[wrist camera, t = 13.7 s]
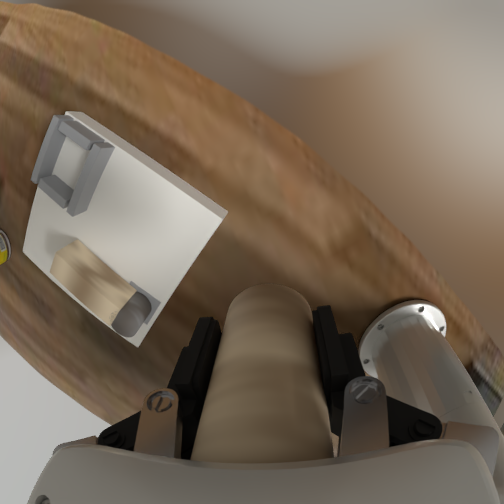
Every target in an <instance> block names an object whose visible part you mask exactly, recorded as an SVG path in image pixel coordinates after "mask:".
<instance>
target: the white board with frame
mask: <svg viewBox="0 0 504 504" xmlns="http://www.w3.org/2000/svg"><path fill="white" fill-rule="evenodd" d="M31 180H32V181H33V182H34V183H35V184H37V183H39V184H38V187H37V191H36V194H35V198H34V201H33V205H32V209H31V213H30V218H29V222H28V227H27V231H26V236H25V242H24V247H23V252H24V253H25V254H26V255H27V256H28V258H29V259H30V260H31V261H33V262H34V263H35V264H36V265H37V266H38V267H39V268H40V269H41V270H42V271H43V272H44V273H45V274H46V275H47V276H48V277H49V278H50V279H51V280H52V281H54V282H55V283H56V284H57V285H58V286H59V287H60V288H61V289H63V290H64V291H65V292H66V293H67V294H68V295H69V296H71V297H72V298H73V299H74V300H75V301H77V302H78V303H79V304H80V305H81V306H83V307H84V308H85V309H86V310H88V311H89V312H90V313H91V314H93V315H94V316H95V317H96V318H98V319H99V320H100V321H102V322H103V323H104V324H106V323H105V322H104V321H103V320H102V319H100V318H99V317H98V316H97V315H96V314H94V313H93V312H92V311H91V310H90V309H89V308H87V307H86V306H85V305H84V304H83V303H82V302H81V301H80V300H78V299H77V298H76V297H75V296H74V295H73V294H72V293H71V292H70V291H69V290H68V289H66V288H65V287H64V286H63V285H62V284H61V283H60V282H59V281H58V280H57V279H56V278H55V277H54V276H53V275H52V274H51V273H50V269H51V266H52V262H53V259H54V256H55V253H56V252H57V251H59V250H60V249H62V248H63V247H65V246H67V245H68V244H70V243H72V242H74V241H75V240H77V239H78V240H79V241H80V242H81V243H82V244H84V245H85V246H86V247H87V248H88V249H89V250H90V251H91V252H92V253H93V254H95V255H96V256H97V257H98V258H99V259H100V260H101V261H103V262H104V263H105V264H106V265H107V266H108V267H109V268H111V269H112V270H113V271H114V272H115V273H117V274H118V275H119V276H120V277H121V278H123V279H124V280H125V281H126V282H127V283H129V284H130V285H131V286H132V287H134V288H135V289H136V290H137V291H136V292H139V293H142V294H143V295H145V296H146V297H147V298H148V299H149V301H150V303H151V307H152V309H151V312H150V314H149V315H148V317H147V318H146V320H145V321H144V323H143V324H142V325H141V327H140V328H139V330H138V331H137V333H136V334H135V335H134V336H133V337H124V336H122V337H123V338H125V339H126V340H127V341H129V342H130V343H132V344H133V345H135V346H136V347H139V345H140V344H141V342H142V341H143V339H144V337H145V336H146V334H147V333H148V331H149V329H150V328H151V326H152V325H153V323H154V322H155V320H156V318H157V317H158V315H159V314H160V312H161V311H162V309H163V308H164V306H165V304H166V303H167V301H168V300H169V298H170V297H171V295H172V294H173V292H174V291H175V289H176V288H177V286H178V285H179V283H180V282H181V280H182V279H183V277H184V276H185V274H186V273H187V271H188V270H189V268H190V267H191V265H192V264H193V262H194V261H195V259H196V258H197V256H198V255H199V253H200V252H201V251H202V249H203V248H204V246H205V245H206V243H207V242H208V240H209V239H210V237H211V236H212V235H213V233H214V232H215V230H216V229H217V227H218V226H219V225H220V223H221V222H222V220H223V219H224V218H225V216H226V215H227V213H228V211H227V210H225V209H224V208H222V207H221V206H220V205H218V204H217V203H215V202H214V201H212V200H211V199H210V198H208V197H207V196H205V195H204V194H202V193H201V192H200V191H198V190H197V189H195V188H194V187H192V186H191V185H189V184H188V183H187V182H185V181H184V180H182V179H181V178H179V177H178V176H176V175H175V174H174V173H172V172H171V171H169V170H168V169H166V168H165V167H163V166H162V165H160V164H159V163H158V162H156V161H155V160H153V159H152V158H150V157H149V156H147V155H146V154H144V153H143V152H141V151H140V150H138V149H137V148H135V147H134V146H132V145H131V144H130V143H128V142H127V141H125V140H124V139H122V138H121V137H119V136H118V135H116V134H115V133H113V132H112V131H110V130H109V129H107V128H106V127H104V126H103V125H101V124H100V123H98V122H97V121H95V120H94V119H92V118H90V117H89V116H87V115H86V114H84V113H83V112H73V111H66V113H65V115H54V116H53V118H52V121H51V123H50V125H49V128H48V130H47V133H46V135H45V138H44V141H43V143H42V146H41V149H40V152H39V155H38V158H37V161H36V164H35V167H34V170H33V173H32V177H31ZM106 325H107V326H108V327H110V328H111V329H112V330H114V329H113V328H112V326H109V325H108V324H106ZM114 331H115V330H114ZM115 332H116V331H115ZM116 333H117V332H116ZM119 335H120V334H119ZM120 336H121V335H120Z"/></svg>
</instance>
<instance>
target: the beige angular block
mask: <svg viewBox="0 0 504 504" xmlns="http://www.w3.org/2000/svg"><path fill="white" fill-rule="evenodd" d="M50 273H51V274H52V275H53V276H54V277H55V278H56V279H57V280H58V281H59V282H60V283H61V284H62V285H63V286H64V287H65V288H66V289H68V290H69V291H70V292H71V293H72V294H73V295H74V296H75V297H76V298H77V299H78V300H80V301H81V302H82V303H83V304H84V305H85V306H86V307H87V308H89V309H90V310H91V311H92V312H93V313H94V314H96V315H97V316H98V317H99V318H100V319H102V320H103V321H104V322H105V323H106V324H108V325H109V326H112V328H113V329H114V330H115V331H116V332H117V333H118V334H120V335H121V336H124V337H133V336H134V335H135V334H136V333H137V331H138V330H139V328H140V327H141V325H142V324H143V323H144V321H145V320H146V318H147V317H148V315H149V314H150V312H151V309H152V307H151V303H150V301H149V299H148V298H147V297H146V296H145V295H143V294H142V293H139V292H136V291H137V290H136V289H135V288H134V287H132V286H131V285H130V284H129V283H127V282H126V281H125V280H124V279H123V278H121V277H120V276H119V275H118V274H117V273H115V272H114V271H113V270H112V269H111V268H109V267H108V266H107V265H106V264H105V263H104V262H103V261H101V260H100V259H99V258H98V257H97V256H96V255H95V254H93V253H92V252H91V251H90V250H89V249H88V248H87V247H86V246H85V245H84V244H82V243H81V242H80V241H79V240H78V239H77V240H75V241H74V242H72V243H70V244H68V245H67V246H65V247H63V248H62V249H60V250H59V251H57V252H56V253H55V256H54V259H53V262H52V266H51V269H50Z"/></svg>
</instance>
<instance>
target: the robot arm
mask: <svg viewBox="0 0 504 504" xmlns="http://www.w3.org/2000/svg"><path fill="white" fill-rule="evenodd" d="M312 315H313V328H314V333H315V339H316V345H317V351H318V357H319V363H320V369H321V376H322V382H323V389H324V394H325V397H326V400H327V407H328V414H329V422H330V429H331V432H332V433H334V434H335V435H337V436H339V440H338V450H337V457H335V458H327V459H319V460H310V461H299V462H284V463H219V462H205V461H193V460H190V459H191V454H192V450H193V446H194V442H195V438H196V434H197V430H198V426H199V422H200V418H201V414H202V410H203V406H204V402H205V398H206V394H207V390H208V386H209V383H210V379H211V375H212V371H213V367H214V363H215V359H216V355H217V351H218V347H219V343H220V340H221V336H222V333H221V330H220V326H219V322H218V320H214V318H213V317H202V318H199V320H198V323H197V325H196V328H195V330H194V333H193V336H192V338H191V341H190V343H189V346H188V347H184V348H183V349H182V352H181V354H180V357H179V359H178V362H177V364H176V367H175V369H174V372H173V374H172V377H171V379H170V382H169V384H168V387H167V388H160V389H156V390H154V391H152V392H150V393H149V394H148V395H147V396H146V397H145V399H144V401H143V405H142V410H141V411H140V412H138V413H136V414H134V415H132V416H130V417H128V418H126V419H124V420H122V421H120V422H118V423H116V424H114V425H112V426H110V427H108V428H107V429H105V430H104V431H102V432H101V434H100V435H99V437H98V438H97V437H96V436H91V437H87V438H84V439H80V440H76V441H71V442H67V443H63V444H60V445H58V446H57V447H56V448H55V449H54V451H53V456H52V457H51V459H50V460H49V461H48V463H47V465H46V466H45V468H44V470H43V471H42V473H41V475H40V477H39V479H38V481H37V483H36V485H35V487H34V489H33V491H32V493H31V496H30V498H29V500H28V503H27V504H504V436H503V434H502V433H501V431H500V429H499V427H498V425H497V424H496V422H495V420H494V418H493V416H492V414H491V412H490V411H489V409H488V407H487V405H486V404H485V402H484V400H483V398H482V397H481V395H480V393H479V391H478V390H477V388H476V386H475V384H474V383H473V381H472V379H471V378H470V376H469V374H468V373H467V371H466V370H465V368H464V366H463V365H462V363H461V362H460V360H459V358H458V357H457V355H456V354H455V352H454V351H453V349H452V348H451V346H450V345H449V343H448V342H447V340H446V339H445V334H446V320H445V317H444V315H443V314H442V312H441V311H440V309H439V308H438V307H437V306H436V305H434V304H433V303H431V302H428V301H424V300H411V301H406V302H403V303H400V304H397V305H395V306H393V307H391V308H389V309H388V310H386V311H385V312H383V313H382V314H381V315H379V316H378V317H377V318H376V319H375V320H374V321H373V322H372V323H371V324H370V326H369V327H368V328H367V329H366V331H365V333H364V334H363V336H362V339H361V341H360V344H359V350H358V351H357V348H356V345H355V342H354V339H353V336H352V334H351V333H345V334H338V331H337V328H336V324H335V321H334V317H333V314H332V310H331V307H330V305H327V306H320V307H317V310H315V311H312ZM358 353H359V354H358ZM364 371H365V372H366V373H367V374H369V375H371V376H372V377H371V376H365V372H364ZM374 377H375V378H374ZM377 378H378V379H379V380H378V379H377Z"/></svg>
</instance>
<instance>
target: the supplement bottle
mask: <svg viewBox="0 0 504 504" xmlns="http://www.w3.org/2000/svg"><path fill="white" fill-rule="evenodd" d="M10 254H11V247H10V243H9V240H8V238H7V236H6V234H5V233H4V232H3V231H2V230H0V265H1V264H2V263H4V262H6V261H7V260H8V259H9V258H10Z"/></svg>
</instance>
